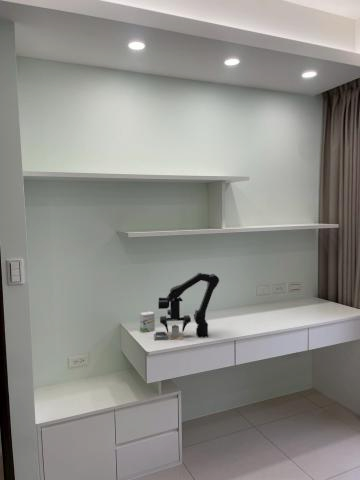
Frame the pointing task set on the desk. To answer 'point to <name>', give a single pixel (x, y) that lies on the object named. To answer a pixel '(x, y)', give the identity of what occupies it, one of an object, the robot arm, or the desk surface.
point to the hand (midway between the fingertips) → (175, 332)
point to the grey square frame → (157, 337)
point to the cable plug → (175, 331)
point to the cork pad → (174, 338)
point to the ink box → (147, 321)
